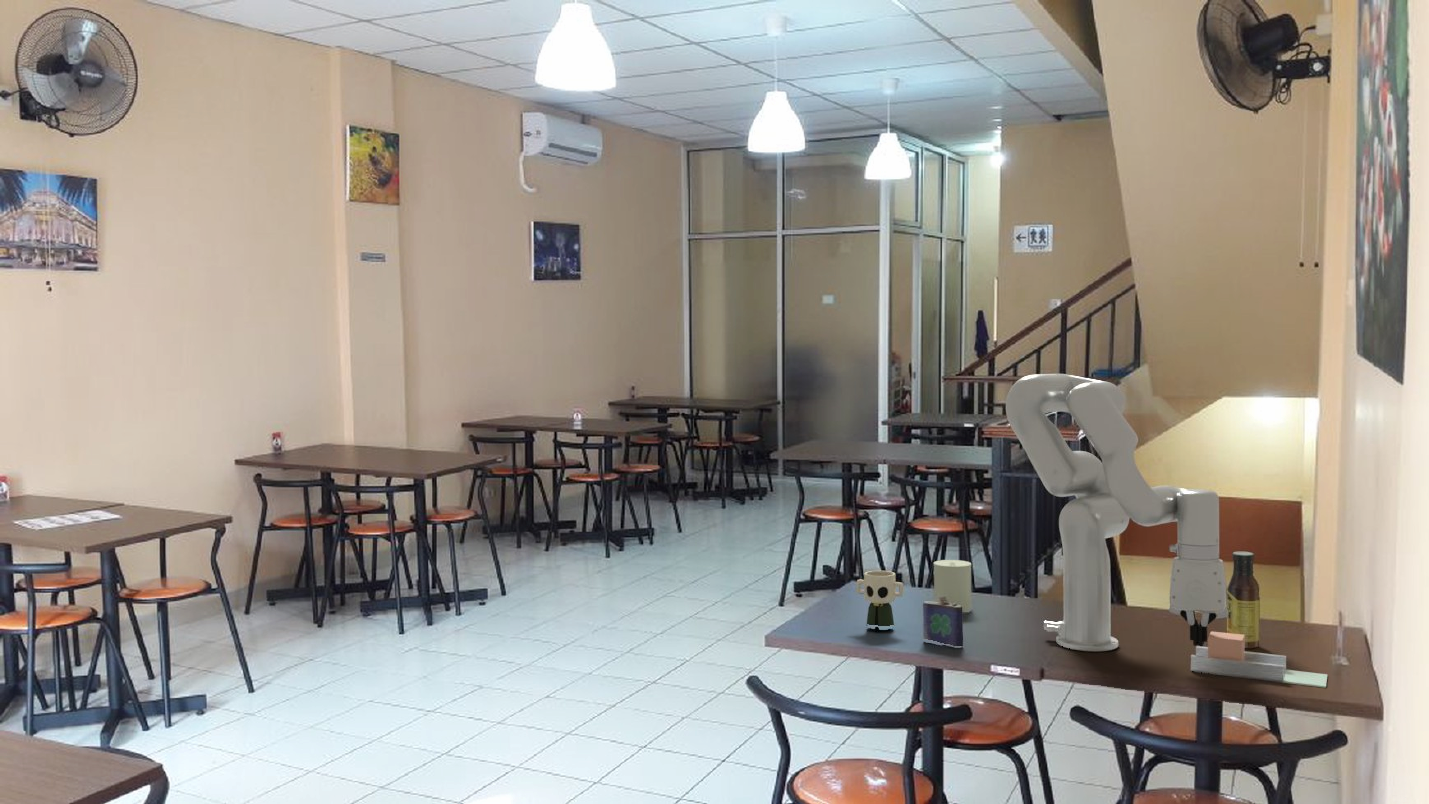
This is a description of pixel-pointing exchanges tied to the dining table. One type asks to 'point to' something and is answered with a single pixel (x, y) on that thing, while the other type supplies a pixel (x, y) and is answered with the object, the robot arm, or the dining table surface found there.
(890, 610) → the character mug
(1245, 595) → the sauce bottle
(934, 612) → the flask
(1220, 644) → the block
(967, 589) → the can
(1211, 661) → the chute
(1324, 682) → the pad
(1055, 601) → the dining table surface
